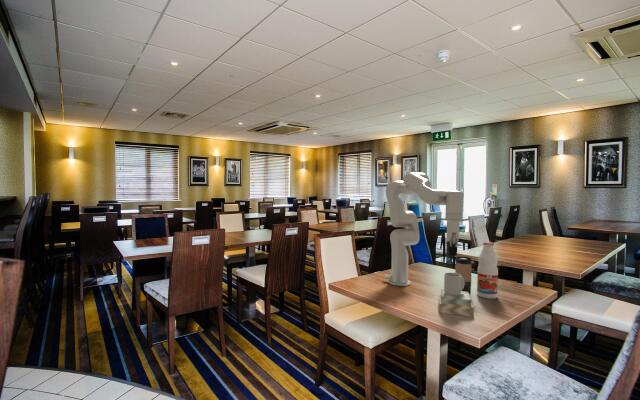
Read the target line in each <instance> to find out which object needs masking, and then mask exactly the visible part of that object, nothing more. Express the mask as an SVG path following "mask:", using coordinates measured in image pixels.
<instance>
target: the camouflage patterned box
mask: <svg viewBox="0 0 640 400" xmlns="http://www.w3.org/2000/svg"><path fill="white" fill-rule="evenodd" d="M438 312H439V314H440V313H442V314H448V315H457V316H462V317H463V316H466V317H471V318H472V317H473V318H474V317H475V307H474V304H473V301H472V298H471V294H470V295H469V292H466V291H461V295H460V296H450V295H446V294H445V293H444V288H441V289H440V294H439V293H438Z"/></svg>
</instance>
